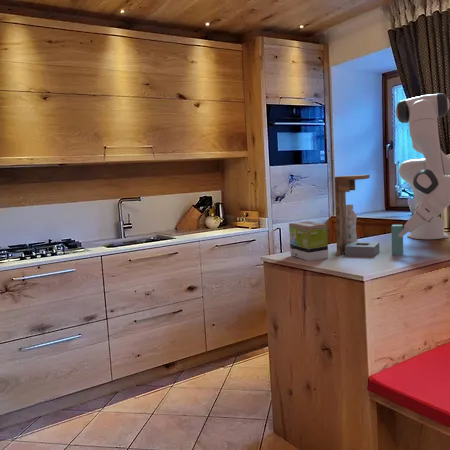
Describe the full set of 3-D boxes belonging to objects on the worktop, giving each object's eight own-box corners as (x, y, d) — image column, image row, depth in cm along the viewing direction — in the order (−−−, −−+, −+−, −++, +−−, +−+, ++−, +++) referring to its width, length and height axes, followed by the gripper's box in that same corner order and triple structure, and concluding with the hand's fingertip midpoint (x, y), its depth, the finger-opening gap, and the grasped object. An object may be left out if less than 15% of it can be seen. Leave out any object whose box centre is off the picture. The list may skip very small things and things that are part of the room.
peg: (393, 252, 194) (392, 224, 193) (403, 252, 193) (402, 224, 191) (391, 254, 191) (391, 225, 190) (402, 254, 189) (401, 226, 188)
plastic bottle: (358, 249, 207) (357, 205, 205) (343, 249, 209) (341, 205, 206) (357, 246, 213) (356, 203, 211) (342, 246, 215) (341, 204, 212)
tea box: (289, 256, 201) (288, 222, 199) (308, 253, 205) (307, 220, 203) (308, 261, 187) (307, 225, 185) (329, 258, 191) (328, 223, 189)
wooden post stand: (343, 250, 206) (341, 175, 203) (371, 251, 201) (369, 174, 197) (336, 255, 196) (334, 176, 192) (365, 256, 190) (363, 175, 186)
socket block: (351, 250, 205) (351, 241, 204) (379, 251, 199) (379, 242, 199) (345, 255, 194) (344, 246, 194) (374, 256, 189) (374, 247, 188)
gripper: (422, 203, 194) (398, 226, 200) (417, 207, 176) (391, 232, 182) (434, 213, 193) (409, 236, 198) (430, 219, 175) (403, 243, 180)
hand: (400, 234), depth 190 cm, fingers open, 8 cm apart
